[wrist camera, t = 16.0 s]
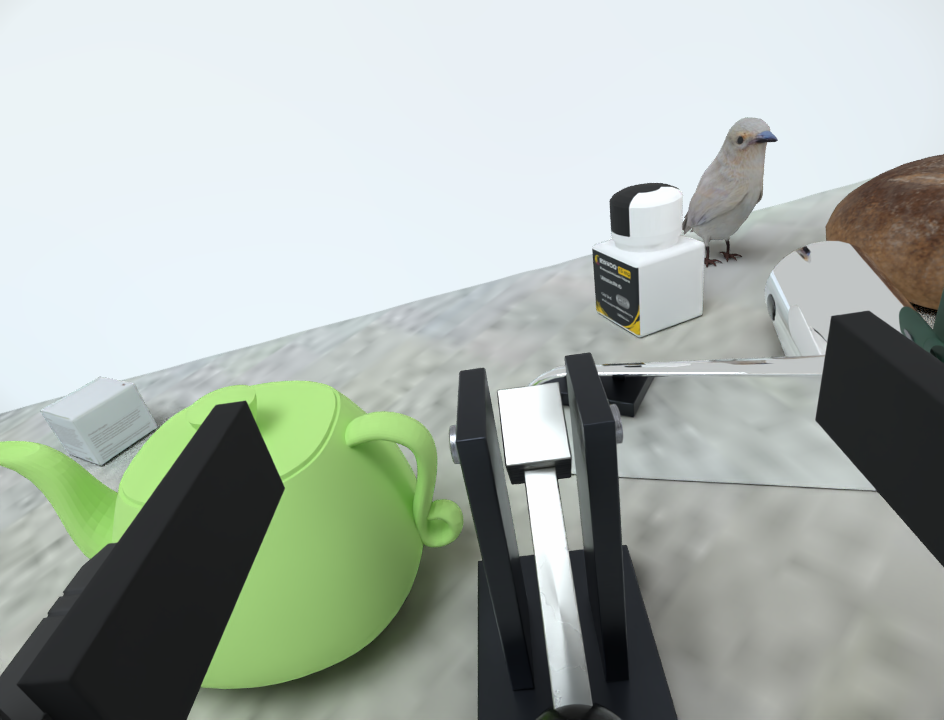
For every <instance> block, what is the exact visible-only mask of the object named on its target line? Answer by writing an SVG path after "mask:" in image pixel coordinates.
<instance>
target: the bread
mask: <svg viewBox="0 0 944 720" xmlns="http://www.w3.org/2000/svg"><path fill="white" fill-rule="evenodd" d="M826 240H827V241H840V242H845V243H850V244H852V245H855V246H857V247H859V248H861V249H862V250H864V251H865V252H866V253H868V255H869V256H870V257H871V258H872V259H873V260H874V261H875V263H876V264H877V265H878V266H879V267H880V268H881V270H882V271H883V272H884V273H885V274H886V276H887V277H888V278H889V279H890V280H891V281H892V283H893V284H894V285H895V286H896V287H897V288H898V290H899V291H900V292H901V293H902V294H903V295H904V297H905V298H906V299H907V300H908V301H909V302H911V303H914V304H917V305H920V306H923V307H926V308H930V309H935V310H938V307H939V304H940V300H941V296H942V292H943V288H944V154H943V155H937V156H932V157H928V158H924V159H921V160H917V161H913V162H910V163H906V164H903V165H901V166H899V167H896V168H894V169H891V170H889V171H887V172H885V173H882V174H880V175H878V176H876V177H875V178H873V179H871V180H870V181H868V182H866V183H865V184H863V185H861V186H860V187H858V188H857V189H855V190H854V191H852V192H851V193H849V194H848V195H847V196H846V197H845V198H844V199H843V200H842V201H841V202H840V203H839V204H838V205H837V206H836V208H835V210H834V211H833V213H832V215H831V217H830V219H829V221H828V223H827V225H826Z"/></svg>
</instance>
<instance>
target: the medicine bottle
mask: <svg viewBox="0 0 944 720" xmlns="http://www.w3.org/2000/svg"><path fill="white" fill-rule="evenodd" d="M682 204H683V194H682V192H681V191H680V190H679V189H678V188H677V187H674V186H671V185H668V184H663V183H647V184H639V185H634V186H630V187H627V188H625V189H623V190H621V191H619V192H617V193H616V194H614V195H613V196H612V198H611V199H610V219H611V236H612V239H611V240H607V241H604V242H601V243H598V244H595V245H594V246H593V249H592V250H593V265H594V280H595V295H596V310H597V312H598V313H600V314H601V315H603V316H605V317H606V318H608V319H609V320H611V321H613V322H614V323H616V324H618V325H619V326H621V327H623V328H624V329H626V330H628V331H629V332H631V333H632V334H634V335H636V336H637V337H643V336H646V335H648V334H651V333H654V332H657V331H659V330H662V329H665V328H668V327H670V326H673V325H676V324H679V323H681V322H684V321H687V320H690V319H692V318H695V317H698V316H700V315H702V312H703V284H704V254H705V244H704V243H703V242H701V241H698V240H695V239H692V238H689V237H686V236H683V235H681V233H682V206H683V205H682Z"/></svg>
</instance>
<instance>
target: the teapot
mask: <svg viewBox="0 0 944 720" xmlns="http://www.w3.org/2000/svg"><path fill="white" fill-rule="evenodd" d="M239 401H247V403H248V406H249V408H250V410H251V412H252V415H253V417H254V419H255V421H256V424H257V426H258V428H259V430H260V433H261V435H262V437H263V439H264V442H265V444H266V446H267V448H268V451H269V453H270V455H271V457H272V460H273V462H274V464H275V466H276V469H277V471H278V473H279V475H280V478H281V480H282V482H283V484H284V487H285V490H284V492H283V495H282V497H281V499H280V502H279V504H278V506H277V509H276V511H275V513H274V516H273V518H272V520H271V523H270V525H269V527H268V530H267V532H266V534H265V537H264V539H263V541H262V544H261V546H260V549H259V551H258V553H257V556H256V558H255V560H254V563H253V565H252V567H251V570H250V572H249V574H248V577H247V579H246V581H245V584H244V586H243V588H242V591H241V593H240V595H239V598H238V600H237V602H236V605H235V607H234V610H233V612H232V614H231V617H230V619H229V621H228V624H227V626H226V628H225V631H224V633H223V635H222V638H221V640H220V642H219V645H218V647H217V649H216V652H215V654H214V656H213V659H212V661H211V663H210V666H209V668H208V670H207V673H206V675H205V678H204V680H203V682H202V685H201V687H204V688H218V689H238V688H254V687H261V686H267V685H273V684H279V683H283V682H287V681H290V680H294V679H298V678H301V677H304V676H307V675H310V674H312V673H315V672H318V671H321V670H323V669H325V668H328V667H330V666H332V665H334V664H336V663H339V662H341V661H343V660H344V659H346V658H348V657H350V656H351V655H353V654H355V653H357V652H358V651H360V650H361V649H362V648H364V647H365V646H366V645H368V644H369V643H370V642H372V641H373V640H374V639H375V638H376V637H377V636H378V635H379V634H380V633H381V632H382V631H383V630H384V629H385V628H386V627H387V626H388V624H389V623H390V622H391V621H392V619H393V618H394V617H395V616H396V614H397V613H398V611H399V610H400V608H401V606H402V605H403V603H404V601H405V599H406V598H407V596H408V594H409V592H410V591H411V588H412V585H413V583H414V580H415V577H416V575H417V572H418V568H419V564H420V560H421V556H422V550H423V544H424V545H426V546H428V547H433V548H436V547H442V546H445V545H448V544H450V543H451V542H453V541H454V540H455V539H457V538H458V536H459V534H460V533H461V531H462V527H463V514H462V511H461V509H460V508H459V507H458V505H457V504H456V503H454V502H453V501H450V500H446V499H441V500H436V501H434V502H432V498H433V493H434V487H435V482H436V475H437V452H436V447H435V443H434V440H433V438H432V436H431V434H430V433H429V431H428V430H427V429H426V428H425V426H423V425H422V424H421V423H420V422H418V421H417V420H415V419H413V418H411V417H409V416H406V415H403V414H399V413H394V412H385V411H384V412H373V413H369V414H367V413H366V412H364V411H363V410H362V409H361V408H360V407H358V406H357V405H356V404H355V403H353V402H352V401H351V400H350V399H349V398H347V397H346V396H344V395H343V394H341V393H340V392H338V391H337V390H335V389H334V388H332V387H330V386H328V385H325V384H321V383H317V382H310V381H281V382H271V383H263V384H258V385H253V386H247V385H234V386H229V387H224V388H221V389H218V390H215V391H213V392H211V393H209V394H207V395H205V396H203V397H202V398H200V399H199V400H197V401H196V402H195V403H194V404H192V405H191V406H189V407H187V408H185V409H184V410H182V411H180V412H179V413H177V414H175V415H174V416H173V417H172V418H170V419H169V420H168V421H166V422H165V423H164V424H163V425H162V426H161V427H160V428H159V429H158V430H157V431H156V432H155V433H154V434H153V435H152V436H151V437H150V438H149V439H148V441H147V442H146V443H145V444H144V445H143V446H142V448H141V449H140V451H139V452H138V453H137V455H136V456H135V457H134V459H133V460H132V462H131V463H130V465H129V466H128V468H127V470H126V471H125V473H124V475H123V477H122V480H121V482H120V485H119V490H118V493H117V492H115V491H113V490H111V489H110V488H108V487H107V486H105V485H104V484H102V483H101V482H100V481H99V480H97V479H96V478H95V477H93V476H92V475H91V474H90V473H89V472H88V471H86V470H85V469H84V468H83V467H82V466H80V465H79V464H78V463H76V462H75V461H74V460H72V459H71V458H69V457H68V456H66V455H65V454H63V453H61V452H59V451H57V450H55V449H53V448H51V447H48V446H46V445H42V444H39V443H33V442H24V441H6V442H0V465H1V466H4V467H6V468H9V469H11V470H14V471H16V472H17V473H19V474H21V475H22V476H24V477H25V478H27V479H28V480H30V481H31V482H32V483H33V484H34V485H35V486H36V487H37V488H38V489H39V490H41V491H42V493H43V494H44V495H45V497H46V498H47V499H48V500H49V502H50V503H51V504H52V506H53V508H54V509H55V511H56V513H57V514H58V516H59V518H60V519H61V521H62V523H63V525H64V526H65V528H66V530H67V532H68V533H69V535H70V536H71V538H72V539H73V541H74V543H75V544H76V545H77V546H78V547H79V549H80V550H81V551H82V552H83V553H84V555H85V556H87V557H88V558H89V559H91V558H92V557H94V556H95V555H96V554H97V553H98V552H99V551H100V550H101V549H103V548H104V547H105V546H106V545H107V544H109V543H117V542H118V541H119V540H120V538H121V537H122V535H123V534H124V533H125V531H126V530H127V528H128V527H129V526H130V524H131V523H132V521H133V520H134V519H135V517H136V516H137V514H138V513H139V512H140V510H141V509H142V507H143V506H144V505H145V503H146V502H147V500H148V499H149V497H150V496H151V495H152V493H153V492H154V490H155V489H156V488H157V486H158V485H159V483H160V482H161V481H162V479H163V478H164V476H165V475H166V474H167V472H168V471H169V469H170V468H171V467H172V465H173V464H174V462H175V461H176V460H177V458H178V457H179V455H180V454H181V453H182V451H183V450H184V448H185V447H186V445H187V444H188V443H189V441H190V440H191V438H192V437H193V436H194V434H195V433H196V431H197V430H198V429H199V427H200V426H201V424H202V423H203V422H204V420H205V419H206V417H207V416H208V415H209V413H210V412H211V410H212V409H213V408H214V406H215V405H218V404H225V403H232V402H239ZM396 443H398V444H401V445H403V446H406V447H407V448H409V449H410V450H411V451H412V452H413V453H414V455H415V457H416V461H417V469H418V474H417V479H416V477H415V475H414V473H413V471H412V469H411V467H410V465H409V463H408V461H407V460H406V458H405V457H404V455H403V453H402V452H401V450H400V448H399V447H398V445H397V444H396Z"/></svg>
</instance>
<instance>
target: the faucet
mask: <svg viewBox="0 0 944 720" xmlns="http://www.w3.org/2000/svg"><path fill="white" fill-rule="evenodd" d="M765 302H766V306H767V309H768V311H769V314H770V317H771V320H772V322H773V325H774V328H775V330H776V333H777V336H778V338H779V341H780V344H781V346H782V349H783V352H784V354H785V357H762V358H739V359H716V360H693V361H670V362H648V363H625V364H602V365H596V368H597V371H598V374H599V377H600V379H601V382H602V385H603V388H604V391H605V393H606V396H607V399H608V402H609V405H612V404H616V405H617V407H618V409H619V412H620V416H621V421H622V427H623V442H622V443H621V444H617V459H618V477H630V478H649V479H668V480H687V481H705V482H724V483H743V484H762V485H780V486H799V487H818V488H837V489H855V490H874V491H877V490H876V489H875V488H874V487H873V486H872V485H871V483H870V482H869V481H868V480H867V479H866V478H865V477H864V475H863V474H862V473H861V472H860V471H859V470H858V469H857V467H856V466H855V465H854V464H853V463H852V462H851V461H850V459H849V458H848V457H847V456H846V455H845V454H844V453H843V451H842V450H841V449H840V448H839V447H838V446H837V445H836V443H835V442H834V441H833V440H832V439H831V438H830V437H829V435H828V434H827V433H826V432H825V431H824V430H823V429H822V427H821V426H820V425H819V424H818V423H817V422H816V421H815V418H816V411H817V405H818V398H819V392H820V385H821V379H822V372H823V366H824V359H825V353H826V346H827V340H828V333H829V327H830V320H831V316H834V315H841V314H848V313H855V312H862V311H870V312H872V313H873V314H875V315H876V316H878V317H879V318H880V319H882V320H883V321H885V322H886V323H887V324H889V325H890V326H892V327H893V328H895V329H896V330H897V331H899V332H900V333H902V334H903V335H905V336H906V337H907V338H909V339H910V340H912V341H913V342H914V343H916V344H917V345H919V346H920V347H922V348H923V349H924V350H926V351H927V352H929V353H930V354H932V355H933V356H934V357H936V358H937V359H939V360H940V361H941V362H943V363H944V342H943V341H942V340H941V339H940V338H939V337H938V335H937V334H936V333H935V332H934V331H933V330H932V328H931V327H930V326H929V325H928V324H927V322H926V321H925V320H924V319H923V318H922V317H921V315H920V314H919V313H918V312H917V311H916V310H915V308H914V307H913V306H912V305H911V304H910V303H909V301H908V300H907V299H906V298H905V297H904V295H903V294H902V293H901V292H900V291H899V290H898V288H897V287H896V286H895V285H894V284H893V283H892V281H891V280H890V279H889V278H888V277H887V276H886V274H885V273H884V272H883V271H882V270H881V268H880V267H879V266H878V265H877V264H876V263H875V261H874V260H873V259H872V258H871V257H870V256H869V255H868V253H866V252H865V251H864V250H862V249H861V248H859V247H857V246H855V245H852V244H850V243H845V242H840V241H822V242H815V243H812V244H809V245H805V246H803V247H801V248H799V249H797V250H794V251H793V252H791V253H790V254H788V255H787V256H785V257H784V258H783V259H782V260H781V261H780V262H779V263H778V264H777V265H776V266H775V268H774V269H773V270H772V272H771V273H770V275H769V278H768V280H767V282H766V287H765ZM554 382H559V384H560V390H561V396H562V402H563V408H564V414H565V419H566V425H567V431H568V437H569V443H570V449H571V455H572V469H571V474H576V466H575V457H574V447H573V437H572V427H571V417H570V407H569V397H568V387H567V377H566V367H565V365H564V366H558V367H555V368H554V369H552V370H550V371H547V372H544V373H543V374H541V375H540V376H539V377H537V378H536V379H534V380H533V381H532V382H530V383H529V384H528V385H527V386H532V385H539V384H547V383H554Z"/></svg>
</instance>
